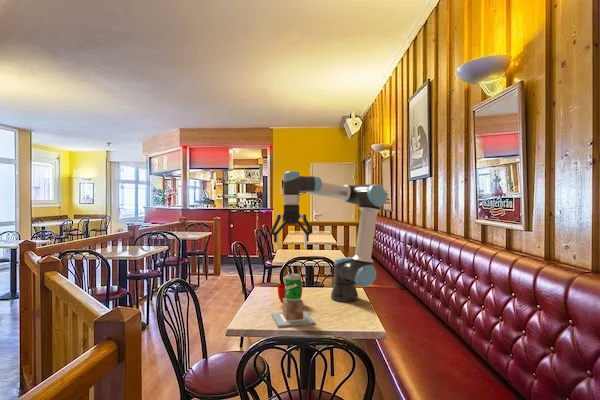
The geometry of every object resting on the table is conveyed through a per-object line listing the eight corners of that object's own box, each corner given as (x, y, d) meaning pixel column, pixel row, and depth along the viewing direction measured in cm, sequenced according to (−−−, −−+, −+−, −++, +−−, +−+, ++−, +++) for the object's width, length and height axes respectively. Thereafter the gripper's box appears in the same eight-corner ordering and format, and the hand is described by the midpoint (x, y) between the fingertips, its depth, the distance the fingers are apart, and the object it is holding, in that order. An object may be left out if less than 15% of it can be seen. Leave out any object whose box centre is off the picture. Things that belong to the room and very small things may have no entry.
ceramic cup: (303, 299, 203) (303, 282, 203) (300, 309, 186) (301, 289, 186) (280, 299, 204) (280, 281, 204) (275, 308, 187) (275, 289, 187)
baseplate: (305, 312, 181) (305, 310, 181) (315, 324, 165) (315, 321, 165) (271, 315, 177) (271, 312, 177) (278, 327, 160) (278, 325, 160)
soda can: (292, 297, 176) (292, 272, 175) (304, 300, 171) (304, 274, 171) (281, 300, 170) (281, 274, 170) (294, 303, 165) (294, 277, 165)
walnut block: (298, 313, 176) (299, 297, 176) (303, 319, 168) (303, 301, 168) (282, 315, 174) (282, 298, 174) (286, 320, 166) (286, 303, 166)
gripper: (314, 203, 180) (314, 246, 180) (264, 204, 173) (264, 248, 174) (319, 204, 172) (318, 249, 173) (266, 204, 166) (266, 251, 166)
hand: (291, 248), depth 173 cm, fingers open, 13 cm apart
